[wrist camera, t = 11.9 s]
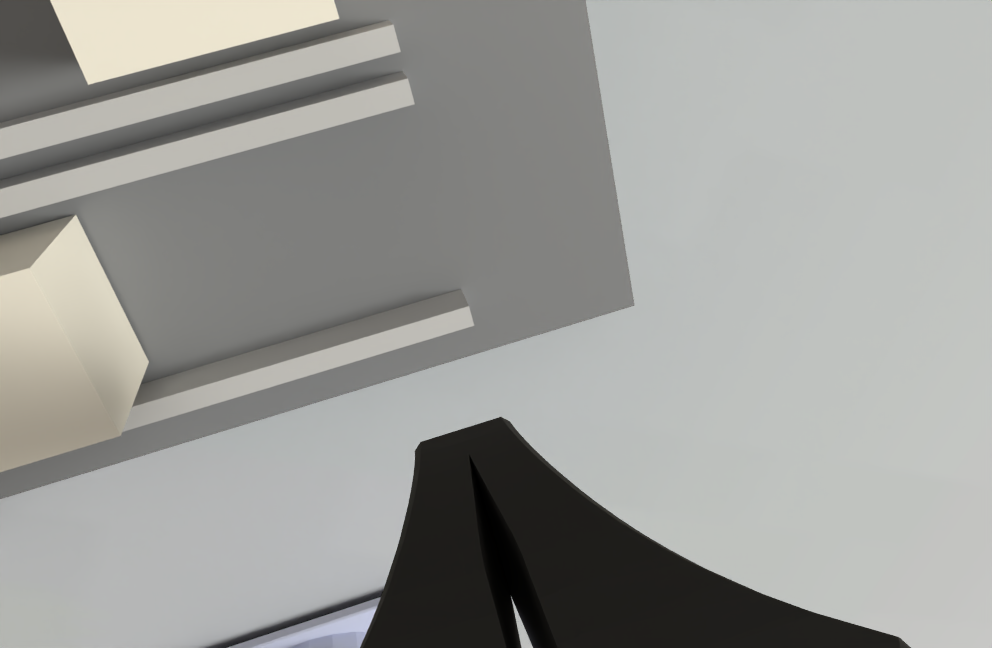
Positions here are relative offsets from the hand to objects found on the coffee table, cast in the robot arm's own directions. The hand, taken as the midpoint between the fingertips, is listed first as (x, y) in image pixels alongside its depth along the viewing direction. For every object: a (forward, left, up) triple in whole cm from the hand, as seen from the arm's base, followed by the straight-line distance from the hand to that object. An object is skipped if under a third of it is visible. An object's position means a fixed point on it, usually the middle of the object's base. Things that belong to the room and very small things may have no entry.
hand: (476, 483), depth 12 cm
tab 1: (+2, +8, -7) cm, 11 cm away
